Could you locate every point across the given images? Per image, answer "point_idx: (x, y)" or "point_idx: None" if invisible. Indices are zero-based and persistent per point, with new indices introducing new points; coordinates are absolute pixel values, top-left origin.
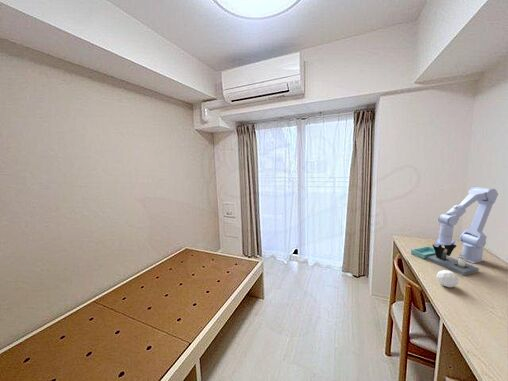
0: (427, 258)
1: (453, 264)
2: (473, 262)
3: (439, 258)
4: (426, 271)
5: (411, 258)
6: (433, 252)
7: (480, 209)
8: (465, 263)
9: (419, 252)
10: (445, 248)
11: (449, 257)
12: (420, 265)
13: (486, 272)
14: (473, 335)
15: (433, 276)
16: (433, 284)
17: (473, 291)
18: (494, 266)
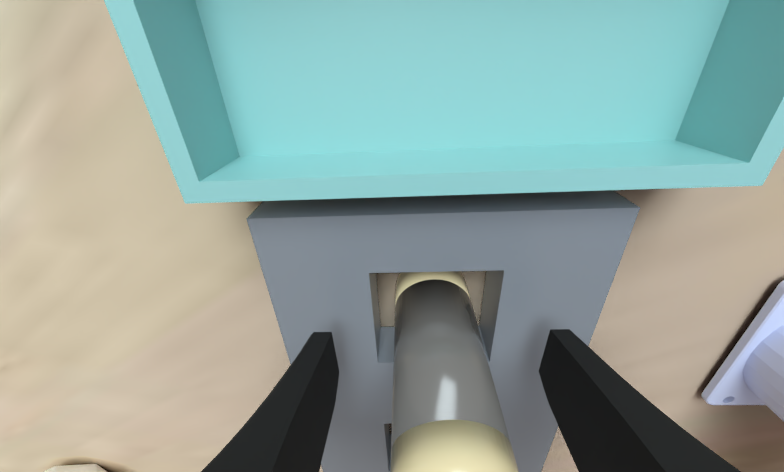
0: (260, 210)
1: (389, 422)
2: (713, 402)
3: (400, 301)
4: (57, 359)
5: (25, 67)
6: (494, 178)
7: None
8: (541, 439)
9: (147, 67)
10: (640, 457)
11: (576, 326)
12: (60, 272)
13: (562, 469)
14: None
15: (74, 410)
16: (8, 452)
17: None
18: (776, 451)
